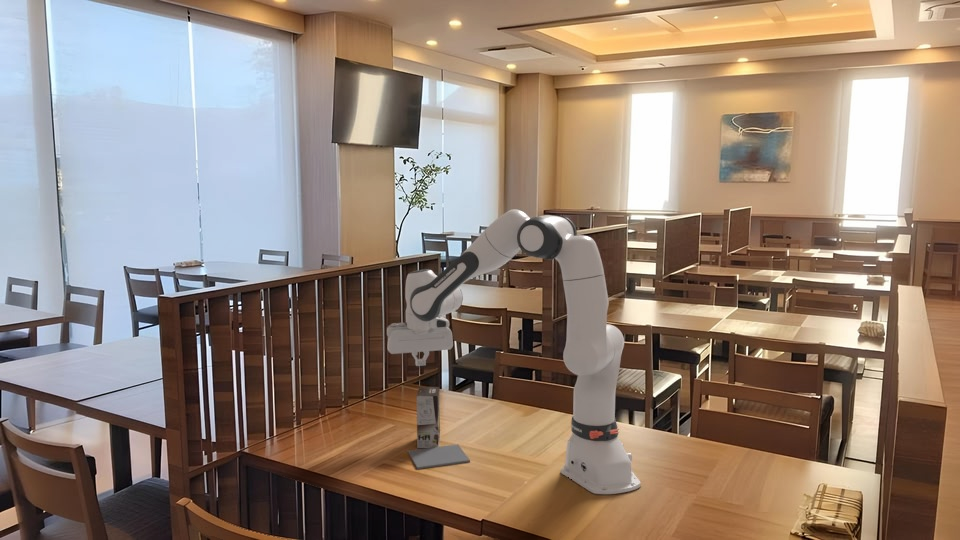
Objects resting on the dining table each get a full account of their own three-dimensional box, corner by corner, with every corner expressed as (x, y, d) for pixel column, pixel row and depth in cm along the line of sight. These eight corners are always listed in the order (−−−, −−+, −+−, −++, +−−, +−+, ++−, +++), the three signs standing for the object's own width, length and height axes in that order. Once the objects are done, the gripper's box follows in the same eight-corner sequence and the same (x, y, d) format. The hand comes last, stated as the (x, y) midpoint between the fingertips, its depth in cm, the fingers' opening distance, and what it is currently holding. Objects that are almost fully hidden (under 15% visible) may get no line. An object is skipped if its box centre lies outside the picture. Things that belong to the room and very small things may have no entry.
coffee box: (438, 448, 198) (437, 395, 196) (416, 448, 198) (415, 395, 196) (440, 437, 207) (440, 386, 205) (419, 437, 207) (418, 386, 205)
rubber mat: (469, 462, 188) (469, 460, 188) (417, 469, 184) (417, 467, 184) (458, 446, 200) (458, 444, 200) (408, 452, 195) (408, 450, 195)
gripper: (388, 325, 201) (389, 370, 203) (454, 321, 207) (454, 365, 209) (384, 321, 207) (385, 365, 209) (449, 317, 213) (449, 360, 215)
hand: (420, 365), depth 209 cm, fingers closed
